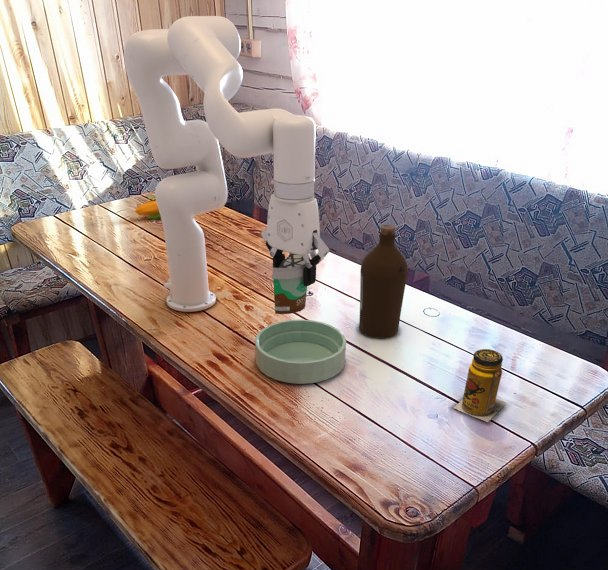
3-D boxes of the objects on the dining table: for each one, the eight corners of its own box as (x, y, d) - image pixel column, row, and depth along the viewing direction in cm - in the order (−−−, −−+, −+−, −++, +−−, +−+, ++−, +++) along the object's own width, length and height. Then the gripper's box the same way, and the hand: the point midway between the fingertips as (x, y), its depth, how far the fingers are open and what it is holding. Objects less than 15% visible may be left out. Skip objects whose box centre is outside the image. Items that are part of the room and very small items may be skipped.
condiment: (452, 408, 116) (463, 355, 109) (472, 390, 121) (483, 339, 114) (487, 423, 112) (500, 369, 105) (506, 404, 117) (519, 351, 110)
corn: (190, 192, 211) (138, 201, 201) (192, 213, 215) (142, 224, 205) (180, 189, 216) (128, 198, 206) (182, 210, 220) (132, 220, 210)
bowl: (237, 365, 128) (236, 342, 125) (293, 332, 141) (293, 311, 138) (308, 396, 118) (308, 373, 115) (361, 359, 131) (363, 337, 128)
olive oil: (405, 324, 145) (417, 222, 131) (394, 343, 137) (406, 237, 123) (363, 316, 148) (371, 216, 134) (350, 335, 140) (357, 230, 126)
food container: (302, 320, 117) (302, 272, 112) (272, 316, 119) (272, 268, 113) (317, 297, 128) (318, 252, 122) (290, 294, 129) (290, 249, 123)
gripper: (246, 185, 112) (249, 274, 122) (319, 202, 103) (317, 296, 113) (271, 177, 117) (273, 263, 127) (344, 193, 108) (339, 284, 118)
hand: (294, 278), depth 120 cm, fingers closed on food container, 7 cm apart
